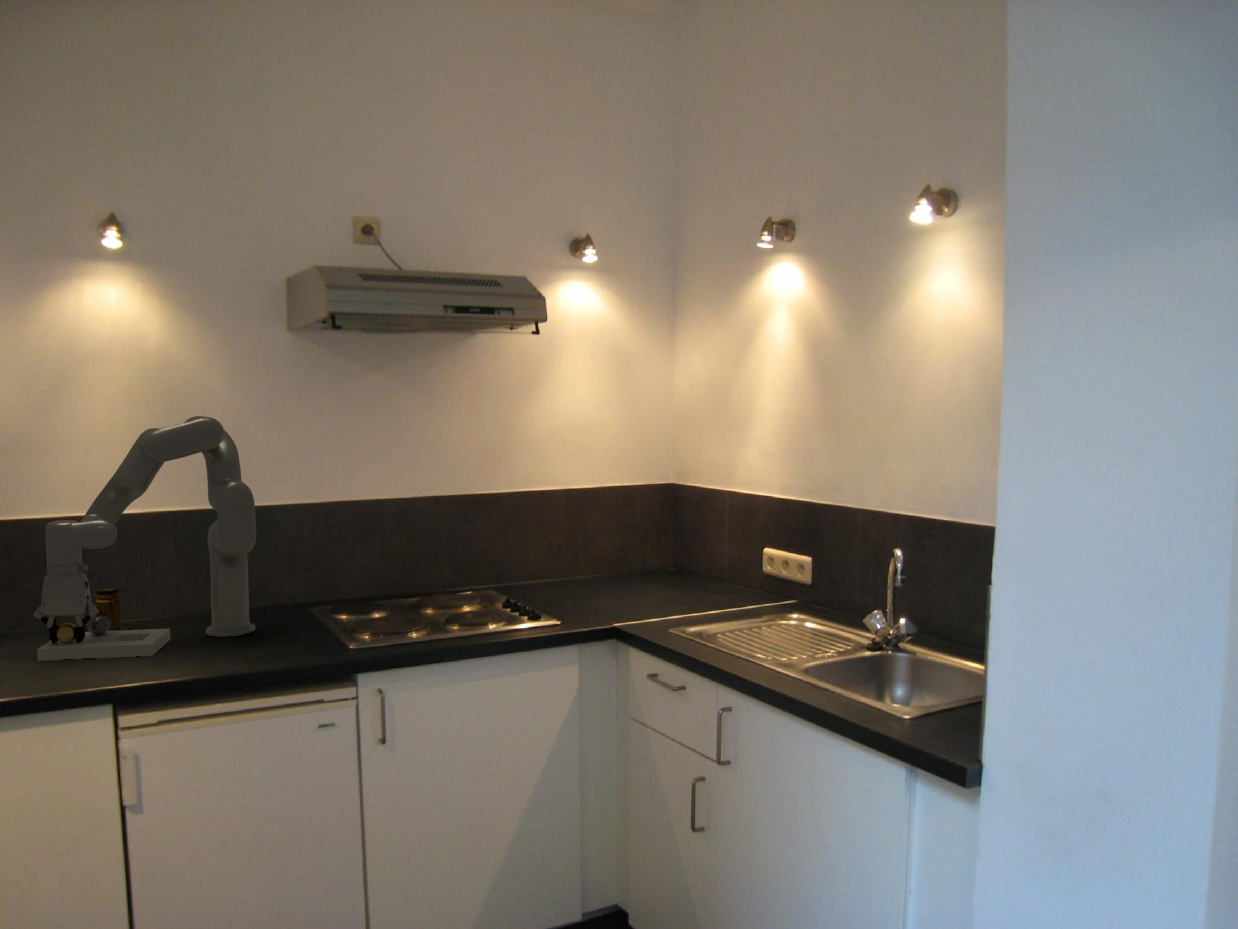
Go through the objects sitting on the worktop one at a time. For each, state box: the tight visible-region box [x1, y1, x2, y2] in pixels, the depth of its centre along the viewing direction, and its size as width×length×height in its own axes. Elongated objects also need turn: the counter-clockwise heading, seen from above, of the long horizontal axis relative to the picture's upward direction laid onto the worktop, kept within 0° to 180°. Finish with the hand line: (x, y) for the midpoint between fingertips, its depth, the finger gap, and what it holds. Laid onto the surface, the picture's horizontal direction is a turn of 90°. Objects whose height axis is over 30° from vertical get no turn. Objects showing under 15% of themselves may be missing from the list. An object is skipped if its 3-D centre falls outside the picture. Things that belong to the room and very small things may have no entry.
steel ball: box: [87, 615, 110, 635], centre depth 242 cm, size 5×5×5 cm
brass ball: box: [56, 622, 77, 643], centre depth 234 cm, size 5×5×5 cm
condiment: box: [95, 587, 123, 631], centre depth 257 cm, size 7×8×12 cm
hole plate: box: [36, 628, 171, 662], centre depth 239 cm, size 16×26×3 cm, turn 101°
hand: (67, 641), depth 234 cm, fingers closed on brass ball, 5 cm apart
